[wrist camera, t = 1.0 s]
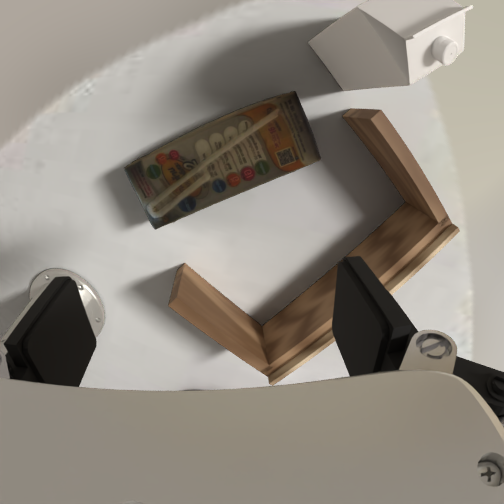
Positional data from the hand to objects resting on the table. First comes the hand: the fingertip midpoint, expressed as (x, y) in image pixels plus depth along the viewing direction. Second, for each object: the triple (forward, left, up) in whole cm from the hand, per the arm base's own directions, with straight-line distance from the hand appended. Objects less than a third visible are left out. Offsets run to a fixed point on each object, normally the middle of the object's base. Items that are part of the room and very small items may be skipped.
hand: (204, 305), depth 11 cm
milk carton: (+20, 0, -28) cm, 34 cm away
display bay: (+1, -14, -27) cm, 31 cm away
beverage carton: (+1, +1, -28) cm, 28 cm away
